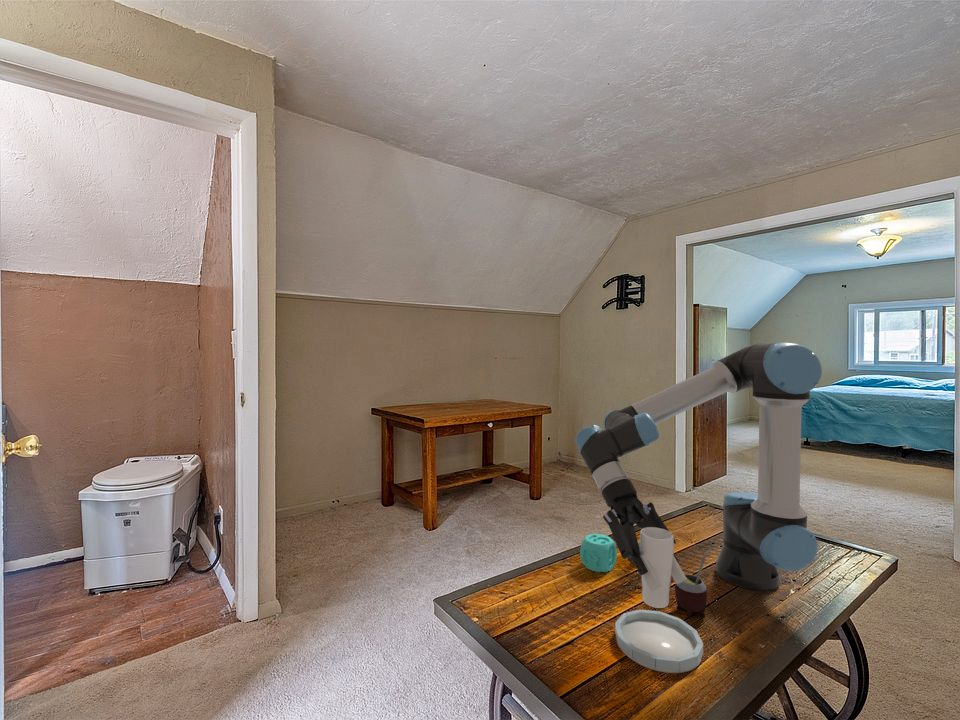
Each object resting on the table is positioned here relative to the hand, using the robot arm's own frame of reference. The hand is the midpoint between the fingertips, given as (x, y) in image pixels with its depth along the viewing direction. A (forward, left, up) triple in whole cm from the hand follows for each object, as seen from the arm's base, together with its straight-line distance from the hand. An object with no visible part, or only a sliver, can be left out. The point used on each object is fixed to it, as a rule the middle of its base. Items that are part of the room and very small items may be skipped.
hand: (669, 585), depth 93 cm
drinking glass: (+2, -3, -6) cm, 7 cm away
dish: (+2, -3, -15) cm, 15 cm away
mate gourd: (-9, -17, -15) cm, 24 cm away
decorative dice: (+11, -37, -15) cm, 41 cm away
